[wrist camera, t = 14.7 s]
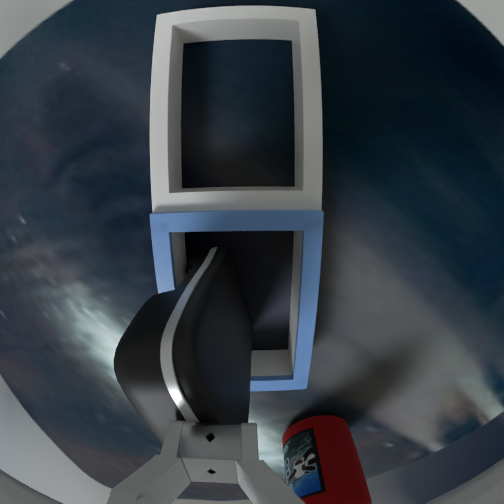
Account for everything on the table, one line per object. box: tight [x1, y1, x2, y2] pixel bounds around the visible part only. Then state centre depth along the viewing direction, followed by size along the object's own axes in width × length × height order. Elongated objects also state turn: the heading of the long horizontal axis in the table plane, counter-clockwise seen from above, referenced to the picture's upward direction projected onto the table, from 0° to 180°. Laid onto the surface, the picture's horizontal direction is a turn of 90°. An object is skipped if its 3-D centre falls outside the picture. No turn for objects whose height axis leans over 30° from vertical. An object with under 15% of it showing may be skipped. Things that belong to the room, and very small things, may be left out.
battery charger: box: [114, 247, 253, 444], centre depth 14 cm, size 7×4×11 cm, turn 15°
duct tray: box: [150, 6, 324, 391], centre depth 16 cm, size 9×24×4 cm, turn 1°
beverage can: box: [282, 415, 372, 504], centre depth 18 cm, size 7×7×12 cm
